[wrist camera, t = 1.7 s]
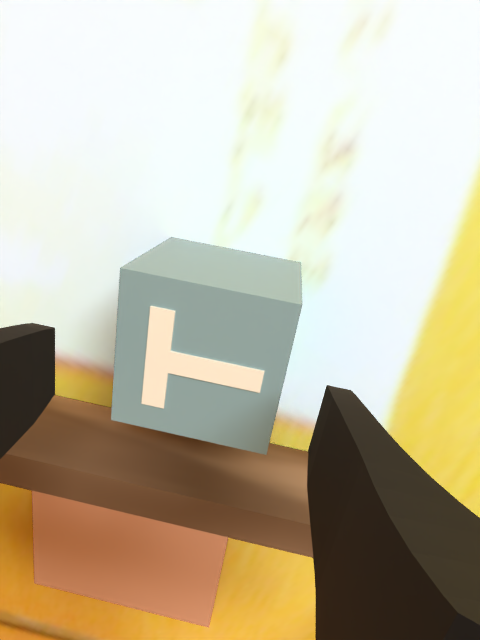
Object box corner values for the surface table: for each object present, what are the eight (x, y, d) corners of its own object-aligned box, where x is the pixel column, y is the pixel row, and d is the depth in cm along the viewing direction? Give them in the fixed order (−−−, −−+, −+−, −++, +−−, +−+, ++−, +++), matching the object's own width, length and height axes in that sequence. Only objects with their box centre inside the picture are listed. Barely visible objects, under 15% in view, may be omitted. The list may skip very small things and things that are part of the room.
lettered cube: (274, 376, 17) (266, 456, 13) (159, 352, 18) (110, 421, 13) (301, 262, 16) (302, 305, 11) (172, 236, 16) (119, 268, 11)
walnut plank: (373, 494, 19) (392, 576, 15) (-2, 409, 20) (-71, 465, 16) (383, 468, 18) (405, 547, 14) (-4, 382, 19) (-76, 434, 16)
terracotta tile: (211, 616, 23) (208, 627, 23) (40, 573, 24) (34, 583, 23) (240, 477, 19) (239, 486, 19) (38, 431, 20) (30, 438, 19)
